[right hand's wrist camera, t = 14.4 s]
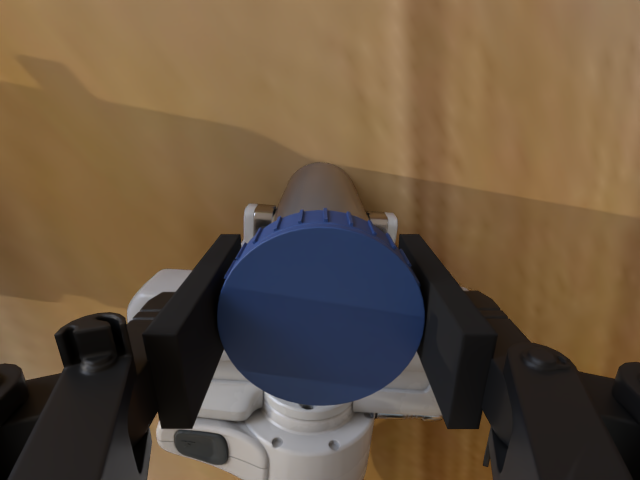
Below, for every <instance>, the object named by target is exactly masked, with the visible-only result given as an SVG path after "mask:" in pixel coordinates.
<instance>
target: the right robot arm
mask: <svg viewBox="0 0 640 480" xmlns="http://www.w3.org/2000/svg"><path fill="white" fill-rule="evenodd" d="M240 249H241V236H240V234H221V235H220V236H219V237H218V239H217V240H216V241H215V243H214V244H213V245H212V246H211V248H210V249H209V250H208V251H207V253H206V254H205V255H204V256H203V258H202V259H201V260H200V262H199V263H198V264H197V265H196V267H195V268H194V269H193V270H192V272H191V273H190V274H189V275H188V277H187V278H186V279H185V280H184V282H183V283H182V284H181V286H180V287H179V288H178V289H177V291H176V292H162V293H160V294H158V295H156V296H155V297H153V298H151V299H150V300H148V301H147V303H146V304H145V305H144V306H143V307H142V308H141V309H140V312H138V313H137V314H136V315H135V316H134V317H133V320H130V321H129V323H128V324H126V320H125V317H123V316H122V315H120V314H117V313H111V312H108V313H97V314H92V315H88V316H84V317H82V318H79V319H76V320H74V321H72V322H70V323H68V324H67V325H65V326H63V327H62V328H60V330H59V331H58V332H57V333H56V334H55V335H54V336H55V339H56V342H57V346H58V349H59V352H60V356H61V359H62V362H63V365H64V369H63V371H62V373H59V374H55V375H50V376H45V377H40V378H35V379H31V380H25V377H24V375H23V372H22V369H21V368H20V367H18V366H17V365H15V364H0V480H147V476H148V468H149V461H150V453H151V445H152V439H151V433H150V428H149V426H150V425H151V423H152V421H153V419H154V417H155V415H156V413H157V412H158V415H159V420H160V425H161V429H193V426H194V424H195V421H196V419H197V416H198V414H199V411H200V409H201V406H202V404H203V401H204V399H205V396H206V394H207V391H208V389H209V386H210V384H211V381H212V379H213V376H214V373H215V371H216V368H217V366H218V363H219V361H220V358H221V356H222V353H223V351H224V347H223V345H222V342H221V340H220V336H219V331H218V325H217V307H218V301H219V299H218V298H219V295H220V292H221V290H222V287H223V285H224V282H225V280H226V279H224V277H225V275H226V273H227V271H228V269H229V268H230V266H231V264H232V262H233V261H234V260H236V259H235V258H236V256H237V255H238V253H239V251H240ZM398 249H399V250H400V249H402V250H403V252H404V253H405V255H406V257H407V258H408V260H409V262H410V264H411V265H412V266H411V268H412V270H413V272H414V274H415V275H416V277H417V279H418V281H419V282H420V285H421V286H419V287H420V290H421V293H422V296H423V300H424V307H425V325H424V331H423V336H422V339H421V342H420V345H419V347H418V349H417V353H418V356H419V358H420V361H421V363H422V366H423V368H424V371H425V374H426V376H427V379H428V381H429V384H430V386H431V389H432V391H433V394H434V396H435V399H436V401H437V404H438V406H439V409H440V411H441V414H442V416H443V419H444V421H445V424H446V426H447V429H479V425H480V420H481V415H482V410H483V412H484V413H485V415H486V417H487V419H488V421H489V423H490V425H491V428H490V433H489V437H488V442H487V446H486V451H485V456H484V461H483V466H486V467H488V465H489V461H490V460H491V467H492V475H493V480H640V363H639V362H630V363H624V364H623V365H621V366H620V367H619V369H618V372H617V375H616V377H615V379H613V378H608V377H603V376H598V375H593V374H588V373H583V372H579V371H578V370H577V368H576V367H575V366H574V364H573V363H572V362H571V361H570V359H568V358H567V357H565V356H564V355H563V354H561V353H560V352H558V351H556V350H554V349H551V348H549V347H547V346H543V345H539V344H536V343H531V342H530V341H529V340H528V339H527V338H526V336H525V335H524V334H523V333H522V332H521V331H520V330H519V329H518V328H517V326H516V325H515V324H514V323H513V322H512V321H511V320H510V319H508V317H507V315H506V314H505V313H504V312H503V311H501V310H500V308H499V307H498V305H497V304H496V303H495V302H494V301H493V300H492V299H491V298H489V297H487V296H486V295H484V294H482V293H481V292H479V291H463V289H462V288H461V287H460V286H459V284H458V283H457V282H456V280H455V279H454V278H453V277H452V275H451V274H450V273H449V272H448V270H447V269H446V268H445V267H444V265H443V264H442V263H441V262H440V260H439V259H438V258H437V256H436V255H435V254H434V253H433V251H432V250H431V249H430V248H429V246H428V245H427V244H426V243H425V241H424V240H423V239H422V237H421V236H420V235H419V234H400V236H399V248H398Z"/></svg>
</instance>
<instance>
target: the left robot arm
mask: <svg viewBox="0 0 640 480" xmlns="http://www.w3.org/2000/svg"><path fill="white" fill-rule="evenodd" d="M275 211H276V206H275V205H263V204H248V206H247V207H246V208H245V213H244V240H243V241H242V243H241V248H242V246H243V244H244V243H245V242H246V243H248V242H249V241H250V240H251V239H252V238H253V237H254V236H255V235H256V233H257V231H258V229H259V228H260V227H261V228H262V229H263V228H265V227H266V226H268V225H269V224H270V223H271V221H272V218H273V216H274V214H275ZM366 213H367V215H368V218H369V220H371V221H372V223H373V225H374V226H376V227H377V228H379V229H380V230H381V231H382V232H384V233H385V234H386V233H387V232H388V233H389V234H390V236H391V238H392V240H393V242H394V243H395V242H396V236H397V229H398V220H397V217H396V216H395V215H394V213H388V212H371V211H367V212H366ZM191 272H192V270H180V269H162V270H160V271H159V272H157V273H156V274H155V275H154V276H153V277H152V278H151V279H149V280H148V281H147V282H146V283H145V284H144V285H143V286H142V287H141V288H140V289H139V290H138V292H137V293H136V294H135V295H134V297H133V298H132V300H131V301H130V303H129V306H128V309H127V321H128V323H129V321H130V320H133V317H134V316H135V315H136V314H137V313H138V312H140V309H141V308H142V307H143V306H144V305H145V304H146V303H147V301H148V300H150V299H151V298H153V297H155V296H156V295H158V294H160V293H162V292H176V291H177V289H178V288H179V287H180V286H181V284H182V283H183V282H184V280H185V279H186V278H187V277H188V275H189V274H190V273H191ZM461 288H462V289H463V291H469V290H468V289H466V288H464V287H461ZM375 418H376V419H378V418H379V419H395V420H400V419H421V420H423V421H439V420H442V418H443V416H442V414H441V411H440V409H439V406H438V404H437V401H436V399H435V396H434V394H433V391H432V389H431V386H430V384H429V381H428V379H427V376H426V374H425V371H424V368H423V366H422V363H421V361H420V358H419V356H418V353H417V351H416V354H415V356H414V357H413V359H412V360H411V362H410V363H409V365H408V366H407V367H406V368H405V369H404V371H403V372H402V373H401V374H400V375H399V376H398V377H397V378H396V379H395V380H393V381H392V382H391V383H390V384H388V385H387V386H385V387H384V388H382V389H381V390H379V391H377V392H375V393H374V394H372V395H369V396H367V397H365V398H362V399H360V400H356V401H353V402H349V403H344V404H339V405H329V406H311V405H303V404H297V403H293V402H289V401H286V400H283V399H280V398H277V397H275V396H273V395H270V394H268V393H266V392H264V391H263V390H261V389H260V388H258V387H256V386H255V385H253V384H252V383H251V382H250V381H248V380H247V379H246V378H245V377H244V376H243V375H242V374H241V373H240V372H239V371H238V370H237V369H236V367H235V366H234V365H233V363H232V362H231V361H230V359H229V357H228V355H227V354H226V352H225V350H224V351H223V353H222V356H221V358H220V361H219V363H218V366H217V368H216V371H215V373H214V376H213V379H212V381H211V384H210V386H209V389H208V391H207V394H206V396H205V399H204V401H203V404H202V406H201V409H200V411H199V414H198V416H197V419H196V421H195V424H194V426H193V429H161V425H160V420H159V423H158V425H157V429H156V438H157V442H158V444H159V446H160V447H161V448H162V449H164V450H165V451H168V452H170V453H173V454H177V455H180V456H184V457H187V458H191V459H194V460H197V461H200V462H203V463H206V464H209V465H212V466H214V467H217V468H220V469H222V470H224V471H226V472H229V473H231V474H233V475H235V476H237V477H239V478H240V479H242V480H363V479H364V476H365V473H366V468H367V464H368V457H369V451H370V445H371V438H372V432H373V426H374V420H375Z"/></svg>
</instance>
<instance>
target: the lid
mask: <svg viewBox="0 0 640 480" xmlns="http://www.w3.org/2000/svg"><path fill="white" fill-rule="evenodd" d="M235 259H236V260H234V261H233V262H232V264H231V266H230V268H229V269H228V271H227V273H226V275H225V277H224V279H226V280H225V282H224V285H223V287H222V290H221V292H220V295H219V298H218V299H219V301H218V307H217V325H218V331H219V336H220V340H221V342H222V345H223V347H224V350H225V352H226V354H227V355H228V357H229V359H230V361H231V362H232V363H233V365H234V366H235V367H236V369H237V370H238V371H239V372H240V373H241V374H242V375H243V376H244V377H245V378H246V379H247V380H248V381H250V382H251V383H252V384H253V385H255V386H256V387H258V388H260V389H261V390H263V391H264V392H266V393H268V394H270V395H273V396H275V397H277V398H280V399H283V400H286V401H289V402H293V403H297V404H303V405H311V406H329V405H339V404H344V403H349V402H353V401H356V400H360V399H362V398H365V397H367V396H369V395H372V394H374V393H375V392H377V391H379V390H381V389H382V388H384V387H385V386H387V385H388V384H390V383H391V382H392V381H393V380H395V379H396V378H397V377H398V376H399V375H400V374H401V373H402V372H403V371H404V369H405V368H406V367H407V366H408V365H409V363H410V362H411V360H412V359H413V357H414V356H415V354H416V351H417V349H418V347H419V345H420V342H421V339H422V336H423V331H424V325H425V307H424V300H423V296H422V293H421V290H420V287H419V286H421V285H420V282H419V281H418V279H417V277H416V275H415V274H414V272H413V270H412V268H411V266H412V265H411V264H410V262H409V260H408V258H407V257H406V255H405V253H404V252H403V250H402V249H400V250H399V249H398V247H397V246H396V245H395V243H394V242H393V240H392V238H391V236H390V234H389V233H388V232H387V233H386V234H385V233H384V232H382V231H381V230H380V229H379V228H377V227H376V226H374V225H373V223H372V221H371V220H368V221H365V220H363V219H361V218H359V217H356V216H353V215H351V213H350V212H348V211H347V213H343V212H337V211H329V210H327V208H324V210H314V211H304V210H300V213H295V214H291V215H289V216H286V217H283V218H282V217H281V216H279V217H278V218H277V221H275V222H273V223H271V224H269V225H268V226H266V227H265V228H263V229H262V228H261V227H260V228H259V229H258V231H257V233H256V235H255V236H254V237H253V238H252V239H251V240H250V241H249V242H248V243H246V242H245V243H244V244H243V246H242V248H241V249H240V251H239V253H238V255H237V256H236V258H235Z"/></svg>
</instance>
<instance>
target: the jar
mask: <svg viewBox="0 0 640 480" xmlns="http://www.w3.org/2000/svg"><path fill="white" fill-rule="evenodd" d="M324 208H327V210H329V211H337V212H343V213H347V211H348V212H350V213H351V215H353V216H356V217H359V218H361V219H363V220H365V221H368V220H369V218H368V215H367V213H366V211H365V209H364V207H363V204H362V202H361V200H360V198H359V195H358V193H357V191H356V189H355V186H354V184H353V182H352V180H351V179H350V177H349V176H348V175H347V174H346V173H345V172H344V171H343V170H342V169H340V168H339V167H337V166H335V165H332V164H329V163H320V162H319V163H312V164H308V165H306V166H304V167H302V168H300V169H299V170H298V171H296V172H295V173H294V174H293V176H292V177H291V178H290V180H289V181H288V184H287V186H286V188H285V191H284V193H283V195H282V197H281V200H280V202H279V204H278V207H277V209H276V211H275V214H274V216H273V218H272V221H271V223H273V222H275V221H277V218H278V217H279V216H281V217H282V218H283V217H286V216H289V215H291V214H295V213H300V210H304V211H314V210H324ZM271 223H270V224H271Z"/></svg>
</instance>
